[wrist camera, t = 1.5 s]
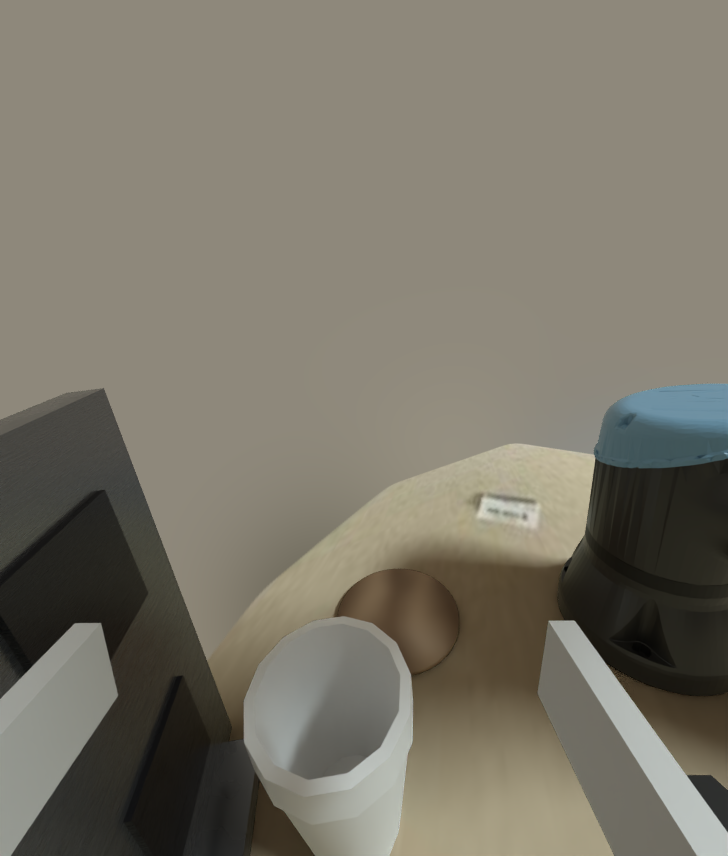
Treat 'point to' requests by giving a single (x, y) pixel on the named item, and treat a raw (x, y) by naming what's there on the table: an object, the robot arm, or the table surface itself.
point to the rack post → (113, 646)
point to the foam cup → (333, 734)
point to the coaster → (407, 614)
